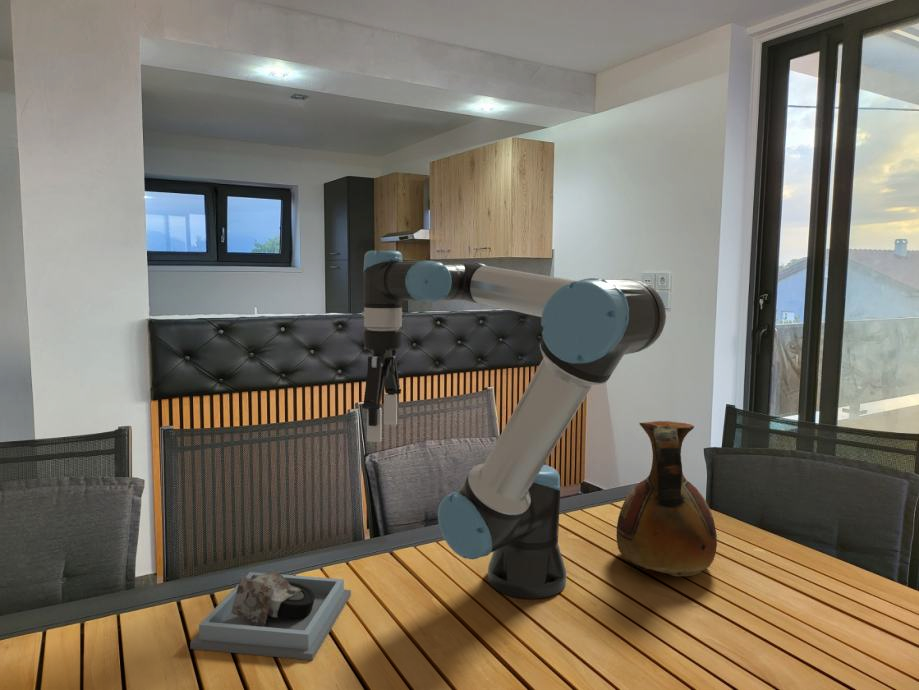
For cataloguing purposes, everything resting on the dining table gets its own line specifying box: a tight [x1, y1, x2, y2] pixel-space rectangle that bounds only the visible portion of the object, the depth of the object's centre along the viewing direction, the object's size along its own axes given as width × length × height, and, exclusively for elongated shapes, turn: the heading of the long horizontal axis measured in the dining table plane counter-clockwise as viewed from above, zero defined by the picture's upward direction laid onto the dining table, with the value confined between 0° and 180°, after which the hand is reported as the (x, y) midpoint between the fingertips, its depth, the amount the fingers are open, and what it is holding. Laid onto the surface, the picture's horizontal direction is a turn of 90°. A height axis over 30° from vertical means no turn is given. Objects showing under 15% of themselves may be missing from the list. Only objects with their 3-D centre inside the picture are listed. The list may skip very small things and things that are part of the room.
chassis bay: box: [189, 571, 352, 661], centre depth 109 cm, size 20×20×4 cm
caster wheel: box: [232, 572, 315, 627], centre depth 110 cm, size 7×11×10 cm
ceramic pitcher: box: [616, 420, 718, 577], centre depth 131 cm, size 20×20×30 cm
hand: (382, 432), depth 130 cm, fingers open, 13 cm apart
